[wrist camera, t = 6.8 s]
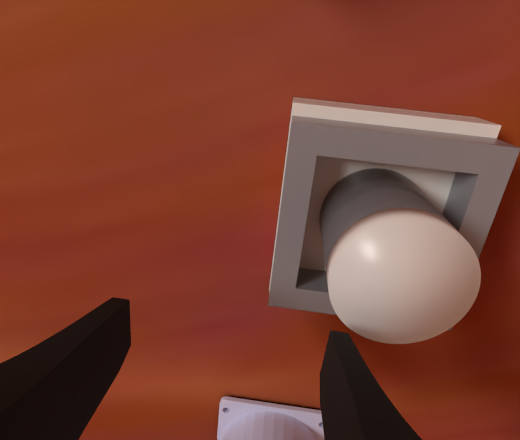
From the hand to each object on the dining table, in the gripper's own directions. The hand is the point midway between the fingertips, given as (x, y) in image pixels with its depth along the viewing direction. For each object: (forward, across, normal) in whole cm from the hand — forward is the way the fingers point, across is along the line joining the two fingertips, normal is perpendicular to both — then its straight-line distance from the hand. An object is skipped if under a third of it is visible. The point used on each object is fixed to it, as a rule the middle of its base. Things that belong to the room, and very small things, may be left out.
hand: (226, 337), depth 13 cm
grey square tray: (+9, -6, -3) cm, 11 cm away
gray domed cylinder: (+7, -6, -3) cm, 9 cm away
